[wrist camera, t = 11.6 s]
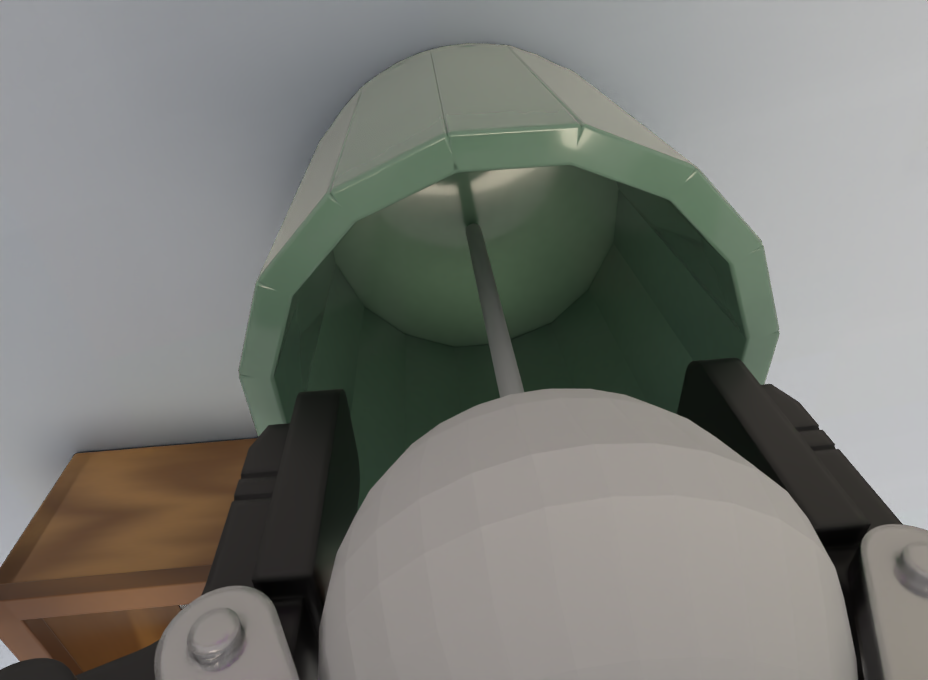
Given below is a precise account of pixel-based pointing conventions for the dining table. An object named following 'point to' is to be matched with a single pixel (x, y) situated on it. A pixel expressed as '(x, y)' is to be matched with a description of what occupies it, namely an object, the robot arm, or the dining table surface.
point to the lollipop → (578, 549)
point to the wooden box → (117, 551)
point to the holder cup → (495, 254)
